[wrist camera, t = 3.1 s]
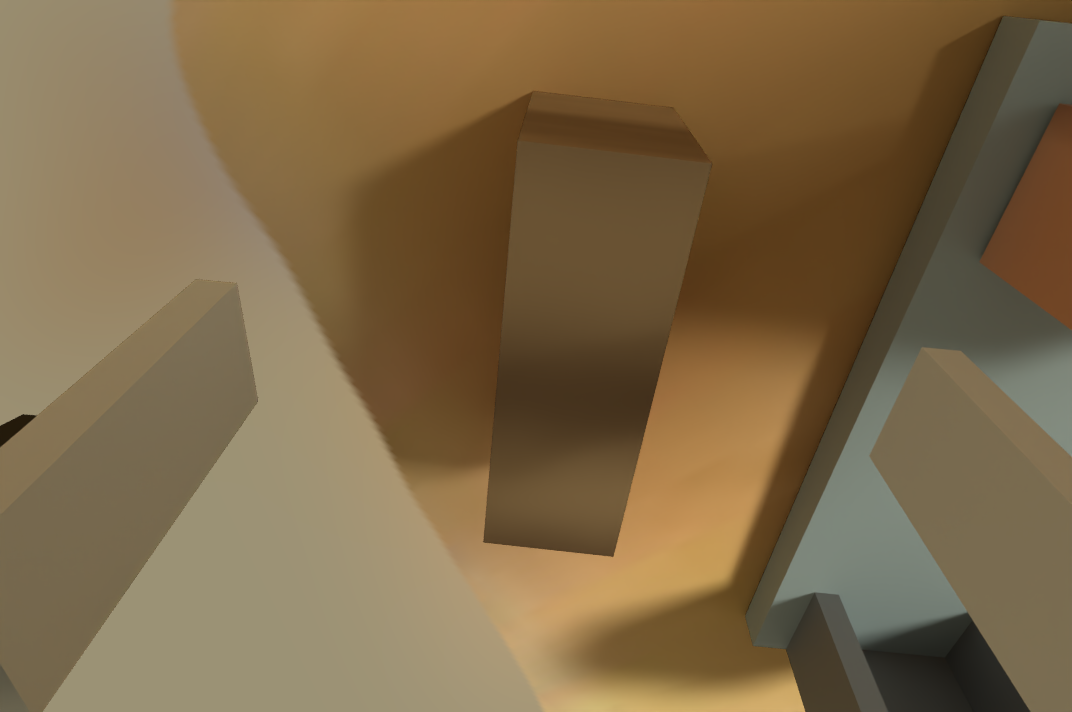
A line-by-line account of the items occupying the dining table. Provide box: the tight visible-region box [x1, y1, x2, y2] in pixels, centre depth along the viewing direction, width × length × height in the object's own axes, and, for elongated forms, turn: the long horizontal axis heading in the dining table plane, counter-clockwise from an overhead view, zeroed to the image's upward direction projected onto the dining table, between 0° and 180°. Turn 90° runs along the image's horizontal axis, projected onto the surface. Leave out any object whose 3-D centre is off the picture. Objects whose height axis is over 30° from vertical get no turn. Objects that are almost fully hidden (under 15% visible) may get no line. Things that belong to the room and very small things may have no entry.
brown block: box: [483, 91, 712, 557], centre depth 19 cm, size 12×4×6 cm, turn 174°
